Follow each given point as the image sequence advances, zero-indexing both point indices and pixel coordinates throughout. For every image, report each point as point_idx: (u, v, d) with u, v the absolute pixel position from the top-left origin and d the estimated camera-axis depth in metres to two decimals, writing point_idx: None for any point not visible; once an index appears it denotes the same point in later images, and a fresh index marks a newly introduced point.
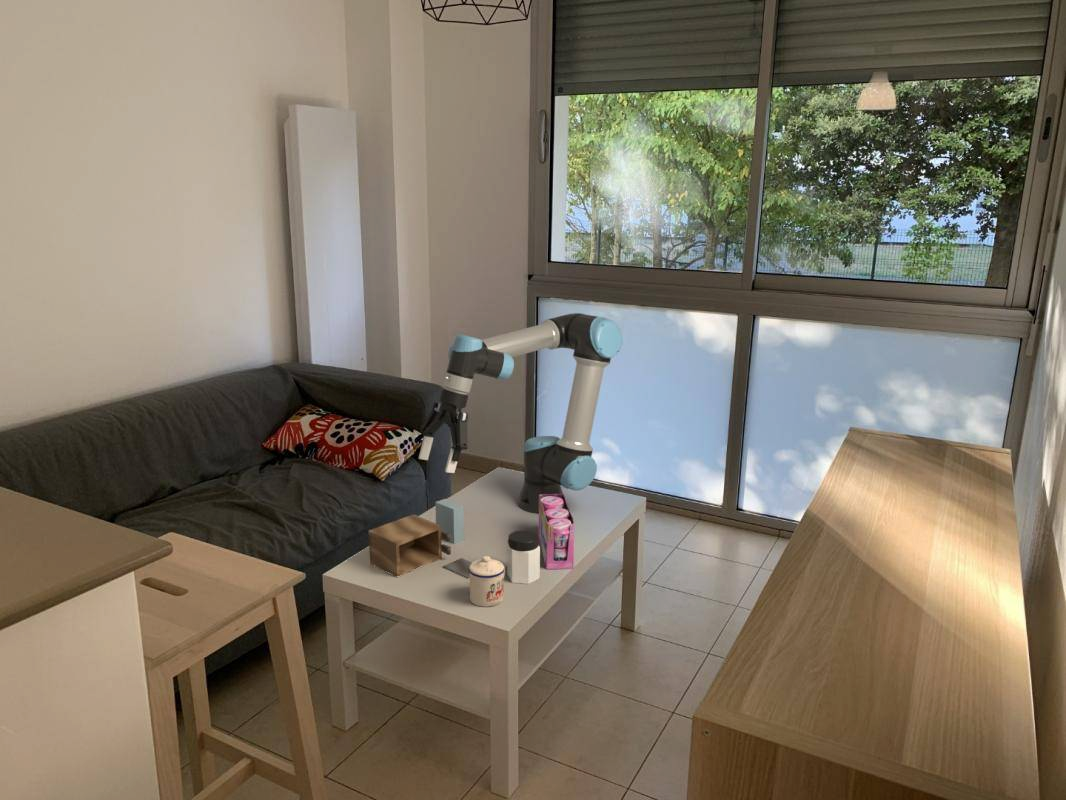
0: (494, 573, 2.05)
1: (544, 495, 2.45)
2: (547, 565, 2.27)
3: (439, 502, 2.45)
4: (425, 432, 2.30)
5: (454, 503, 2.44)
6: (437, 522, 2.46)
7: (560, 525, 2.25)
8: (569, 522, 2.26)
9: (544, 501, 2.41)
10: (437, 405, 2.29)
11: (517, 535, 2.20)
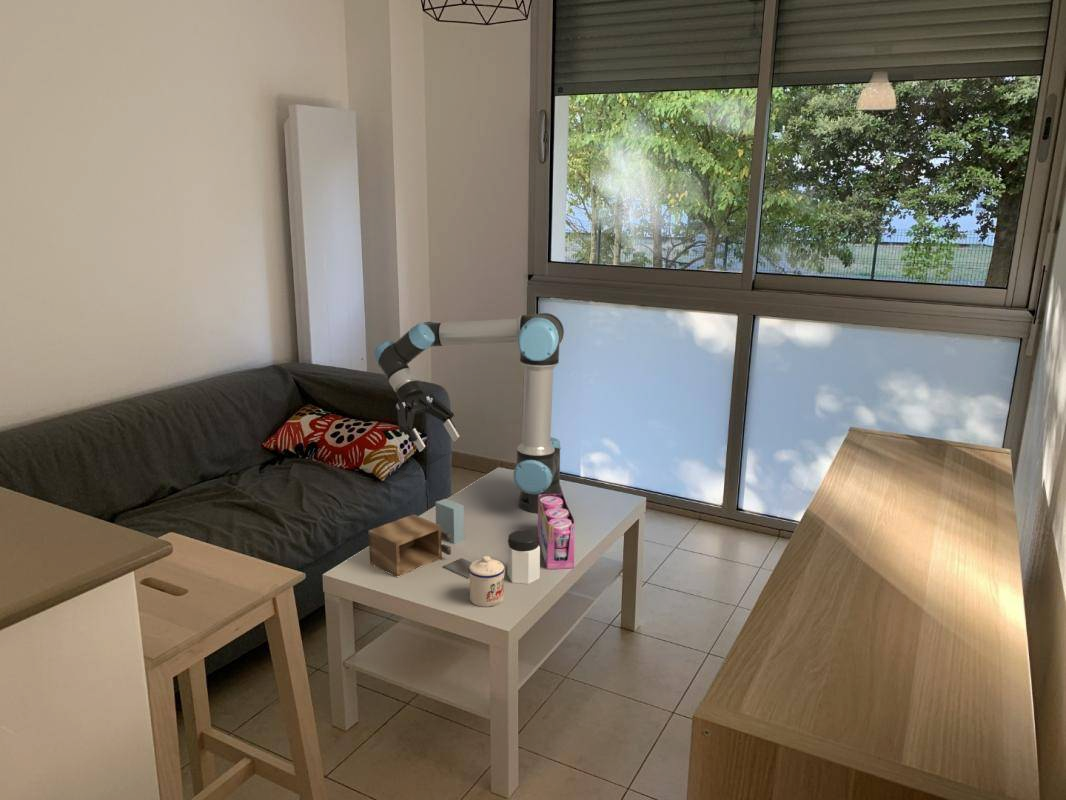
0: (494, 573, 2.05)
1: (543, 495, 2.45)
2: (548, 565, 2.27)
3: (439, 502, 2.45)
4: None
5: (454, 503, 2.44)
6: (437, 522, 2.46)
7: (560, 525, 2.25)
8: (569, 522, 2.26)
9: (544, 501, 2.41)
10: None
11: (517, 535, 2.20)
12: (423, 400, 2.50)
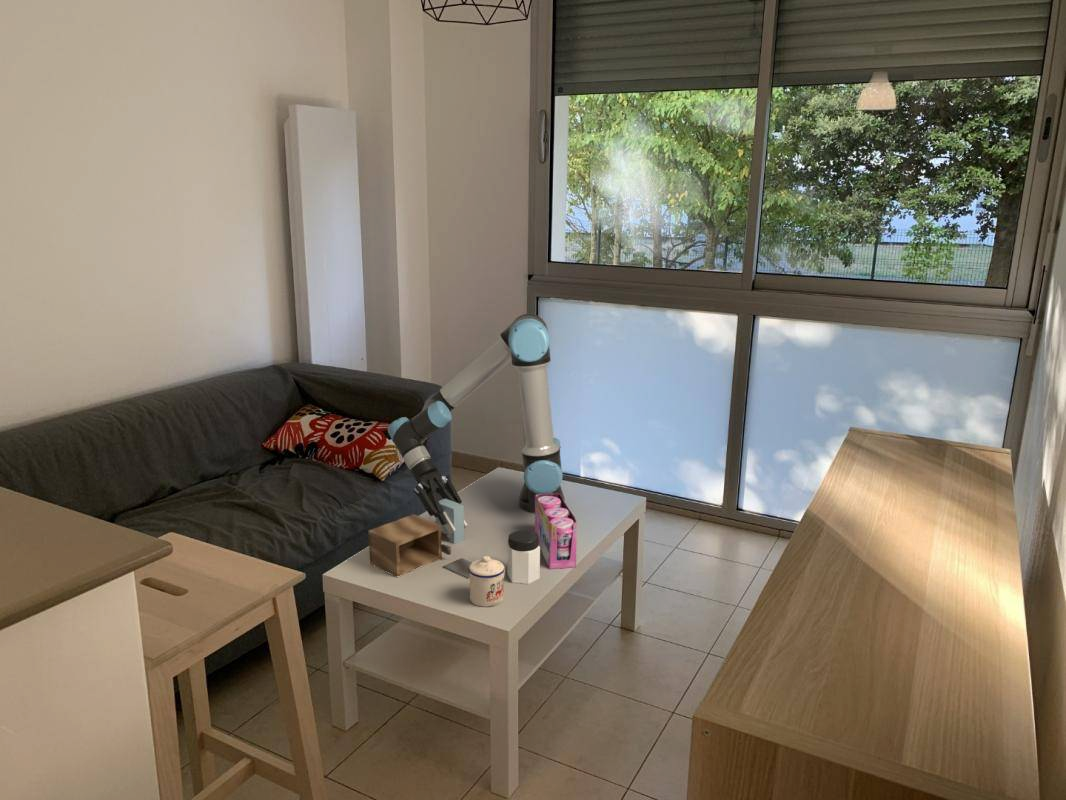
0: (494, 573, 2.05)
1: (540, 495, 2.45)
2: (550, 565, 2.27)
3: (439, 502, 2.45)
4: None
5: (454, 503, 2.44)
6: (437, 522, 2.46)
7: (563, 524, 2.25)
8: (571, 521, 2.27)
9: (542, 501, 2.41)
10: None
11: (517, 535, 2.20)
12: (437, 479, 2.48)
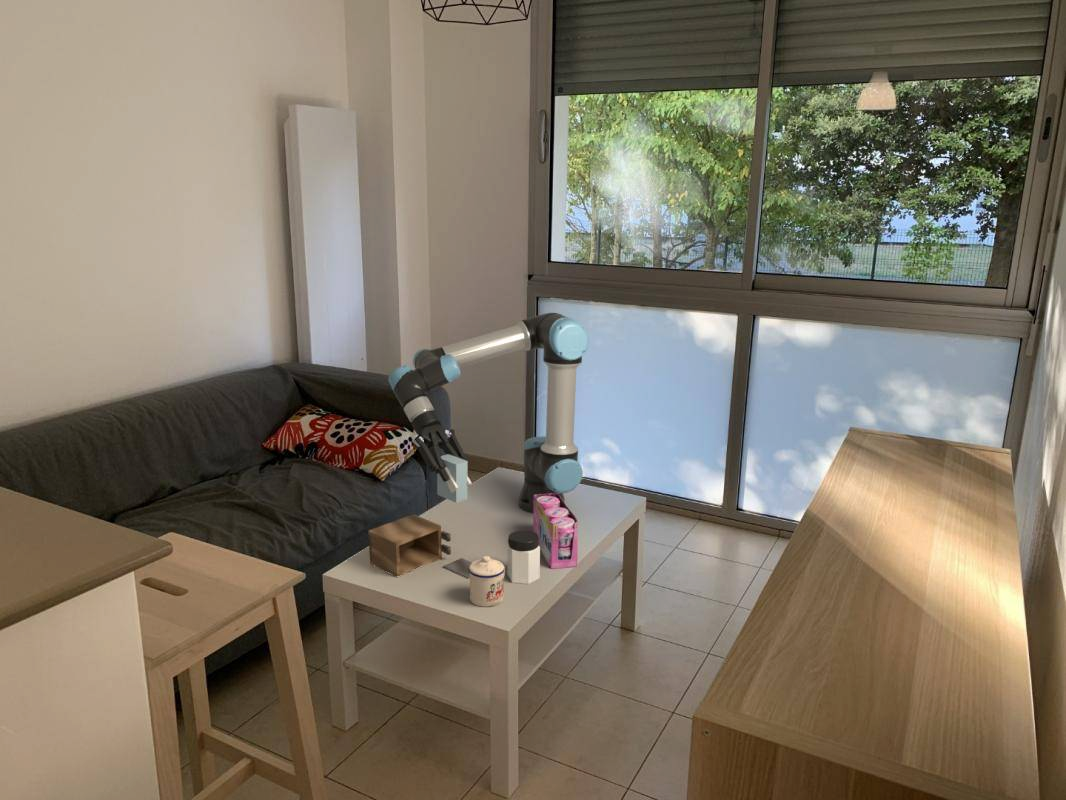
0: (494, 573, 2.05)
1: (539, 495, 2.45)
2: (552, 565, 2.27)
3: (441, 457, 2.25)
4: None
5: (457, 458, 2.24)
6: (438, 479, 2.26)
7: (564, 524, 2.26)
8: (572, 520, 2.27)
9: (540, 501, 2.41)
10: None
11: (517, 535, 2.20)
12: (440, 432, 2.27)
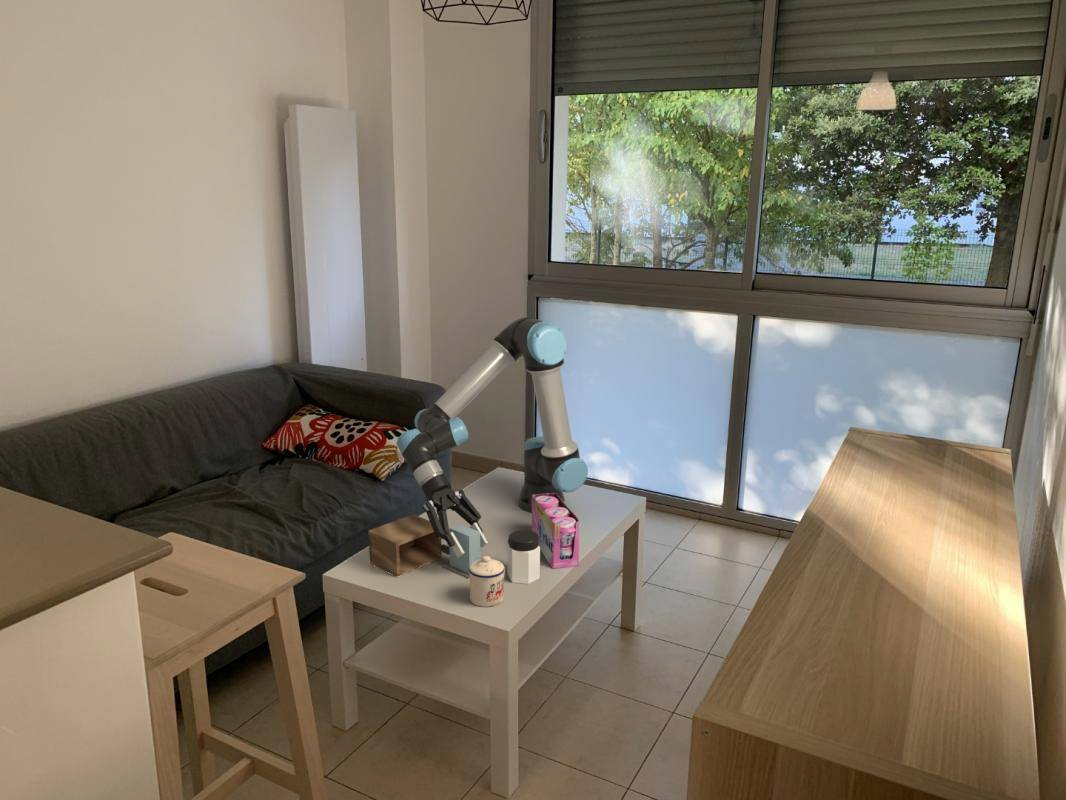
0: (494, 573, 2.05)
1: (537, 495, 2.45)
2: (553, 564, 2.27)
3: (453, 528, 2.25)
4: None
5: (470, 529, 2.25)
6: (451, 549, 2.27)
7: (565, 523, 2.26)
8: (573, 520, 2.28)
9: (539, 501, 2.41)
10: None
11: (517, 535, 2.20)
12: (451, 496, 2.27)
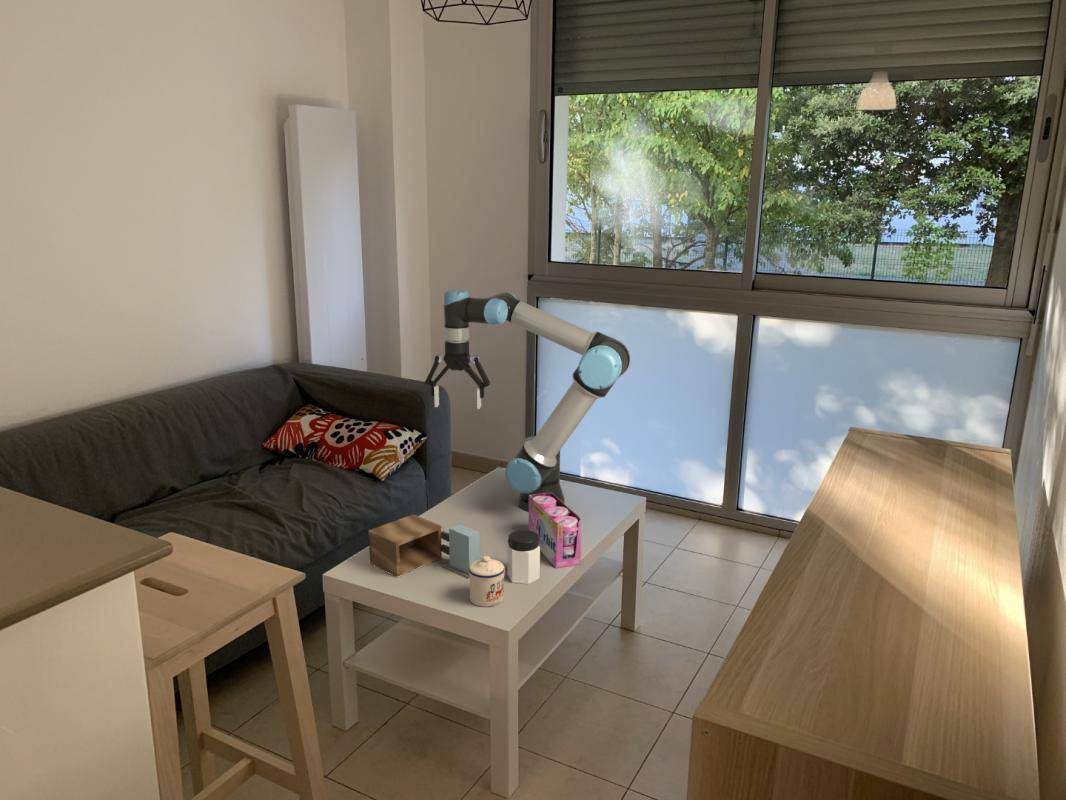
0: (494, 573, 2.05)
1: (533, 495, 2.45)
2: (556, 564, 2.28)
3: (453, 528, 2.25)
4: None
5: (469, 529, 2.25)
6: (451, 550, 2.27)
7: (568, 522, 2.26)
8: (575, 519, 2.28)
9: (537, 501, 2.41)
10: None
11: (517, 535, 2.20)
12: (460, 363, 2.53)
